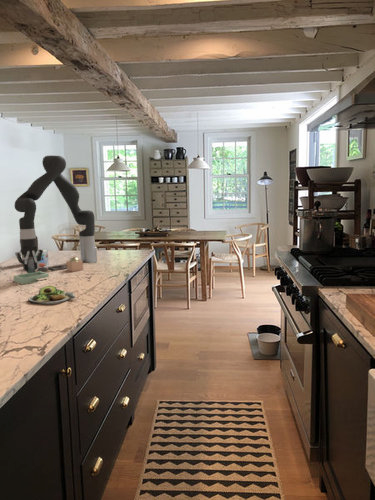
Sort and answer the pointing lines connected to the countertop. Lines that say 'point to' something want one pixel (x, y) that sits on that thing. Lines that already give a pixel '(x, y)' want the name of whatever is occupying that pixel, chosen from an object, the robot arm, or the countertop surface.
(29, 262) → the grey cell
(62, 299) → the salad plate
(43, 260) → the light bulb box
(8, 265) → the countertop surface
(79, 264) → the tan square box
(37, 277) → the green trough
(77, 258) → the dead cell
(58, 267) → the bulb tester base
